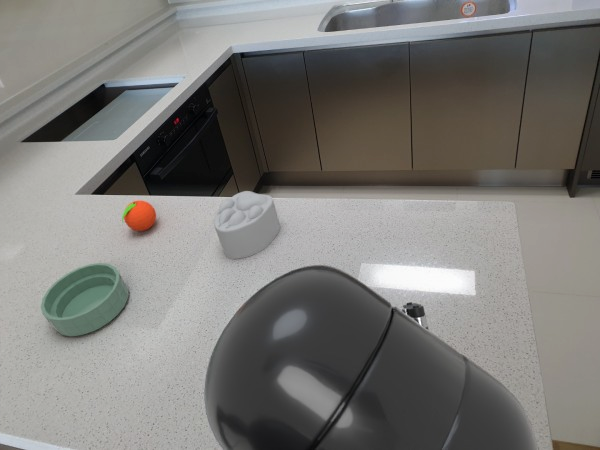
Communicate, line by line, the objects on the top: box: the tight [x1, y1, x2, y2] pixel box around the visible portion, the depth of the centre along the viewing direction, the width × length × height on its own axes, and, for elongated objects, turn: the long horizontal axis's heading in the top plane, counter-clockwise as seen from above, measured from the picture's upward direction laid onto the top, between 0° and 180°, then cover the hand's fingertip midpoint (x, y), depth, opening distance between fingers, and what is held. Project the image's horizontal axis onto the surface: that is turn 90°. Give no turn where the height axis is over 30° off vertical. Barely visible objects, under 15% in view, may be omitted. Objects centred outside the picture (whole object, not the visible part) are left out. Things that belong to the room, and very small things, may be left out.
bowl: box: [40, 262, 129, 337], centre depth 86 cm, size 14×14×5 cm
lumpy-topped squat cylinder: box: [213, 190, 281, 260], centre depth 93 cm, size 10×13×9 cm
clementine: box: [121, 200, 157, 232], centre depth 103 cm, size 8×7×7 cm
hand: (341, 325), depth 47 cm, fingers open, 8 cm apart
